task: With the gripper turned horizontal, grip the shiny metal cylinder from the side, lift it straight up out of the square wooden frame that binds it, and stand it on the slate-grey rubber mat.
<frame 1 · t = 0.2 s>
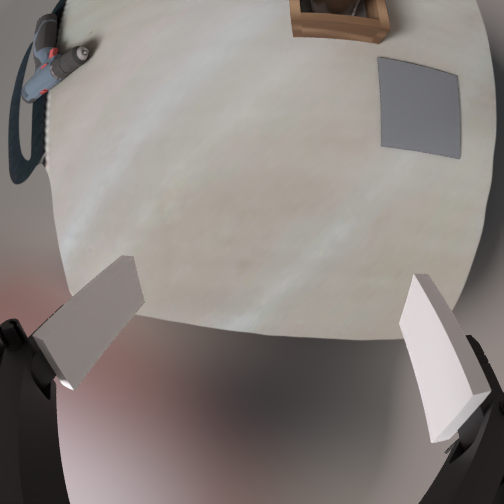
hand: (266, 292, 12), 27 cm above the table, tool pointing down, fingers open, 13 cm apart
mat: (422, 107, 28), on the table
shiny metal cylinder: (332, 6, 25), resting in square wooden frame
square wooden frame: (332, 6, 25), on the table
power drill: (63, 46, 32), on the table
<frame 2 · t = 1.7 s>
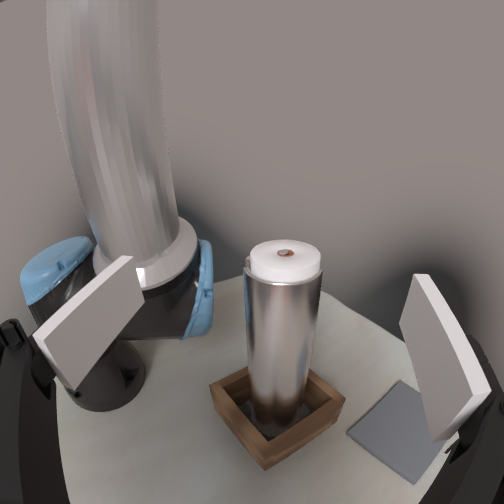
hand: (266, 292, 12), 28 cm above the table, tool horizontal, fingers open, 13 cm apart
mat: (407, 429, 27), on the table
shiny metal cylinder: (274, 418, 32), resting in square wooden frame
square wooden frame: (275, 417, 32), on the table
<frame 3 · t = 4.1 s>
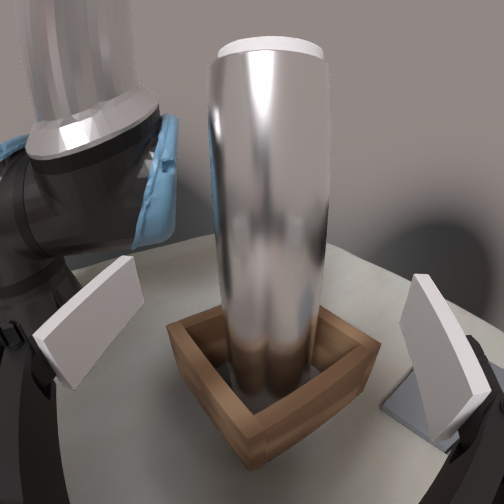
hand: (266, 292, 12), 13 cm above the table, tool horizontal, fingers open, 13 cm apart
mat: (462, 398, 17), on the table
shiny metal cylinder: (269, 388, 22), resting in square wooden frame
square wooden frame: (269, 386, 22), on the table
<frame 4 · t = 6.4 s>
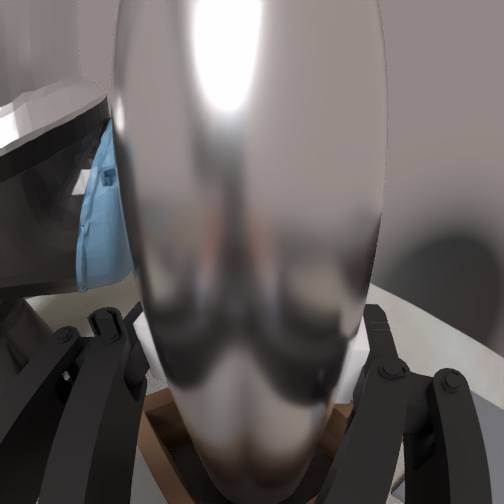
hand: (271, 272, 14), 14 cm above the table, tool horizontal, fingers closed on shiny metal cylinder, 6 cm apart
mat: (484, 468, 9), on the table
shiny metal cylinder: (257, 470, 15), resting in square wooden frame, touching gripper
square wooden frame: (257, 470, 15), on the table
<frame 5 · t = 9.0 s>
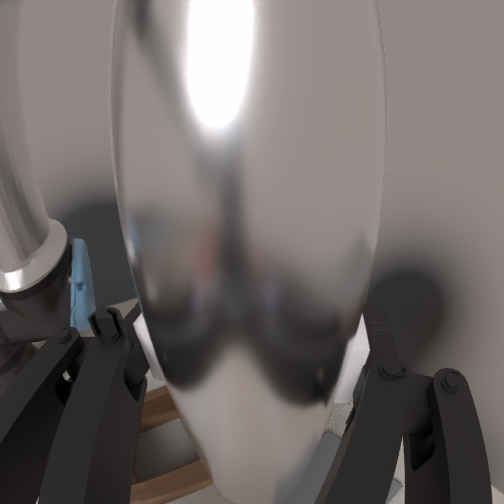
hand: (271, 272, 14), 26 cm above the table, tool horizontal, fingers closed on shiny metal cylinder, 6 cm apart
mat: (325, 495, 20), on the table
shiny metal cylinder: (256, 471, 15), point 12 cm above the table, touching gripper
square wooden frame: (165, 456, 25), on the table
when the fingers open (15 cm above the table, at t = 11.7 s): shiny metal cylinder drops 1 cm, resting on mat.
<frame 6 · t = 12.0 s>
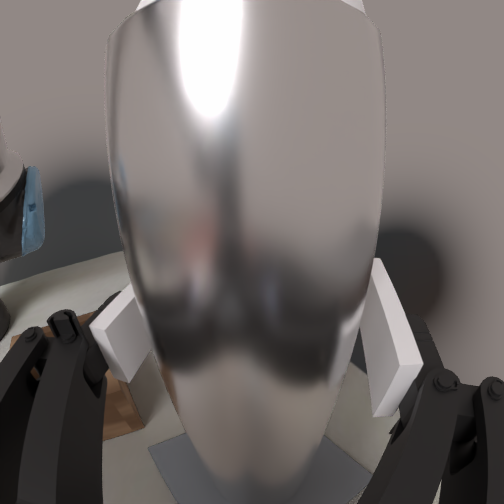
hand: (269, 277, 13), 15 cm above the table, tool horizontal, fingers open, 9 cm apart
mat: (257, 476, 16), on the table
shiny metal cylinder: (258, 476, 15), resting on mat
square wooden frame: (78, 399, 21), on the table
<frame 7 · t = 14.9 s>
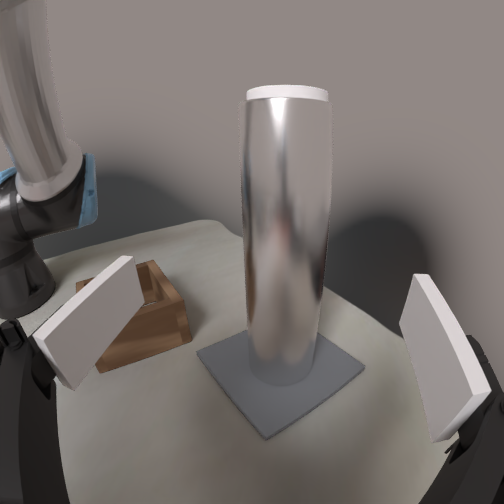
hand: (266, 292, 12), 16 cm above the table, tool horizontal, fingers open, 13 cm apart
mat: (279, 366, 27), on the table
shiny metal cylinder: (280, 364, 27), resting on mat
square wooden frame: (133, 329, 33), on the table
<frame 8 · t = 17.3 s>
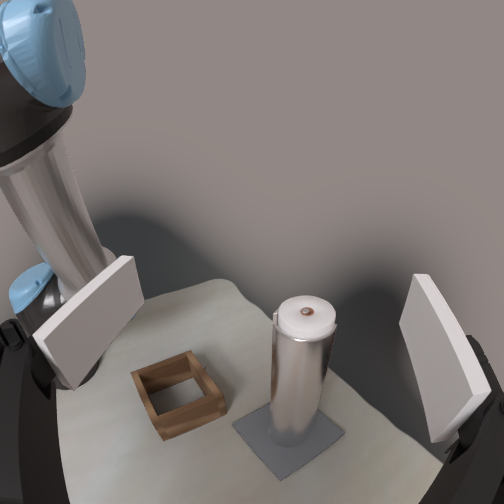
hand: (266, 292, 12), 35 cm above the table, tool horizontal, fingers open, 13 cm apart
mat: (288, 432, 37), on the table
shiny metal cylinder: (288, 431, 36), resting on mat
square wooden frame: (180, 403, 42), on the table
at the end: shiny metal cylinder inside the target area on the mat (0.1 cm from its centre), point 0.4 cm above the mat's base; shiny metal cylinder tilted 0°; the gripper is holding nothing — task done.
